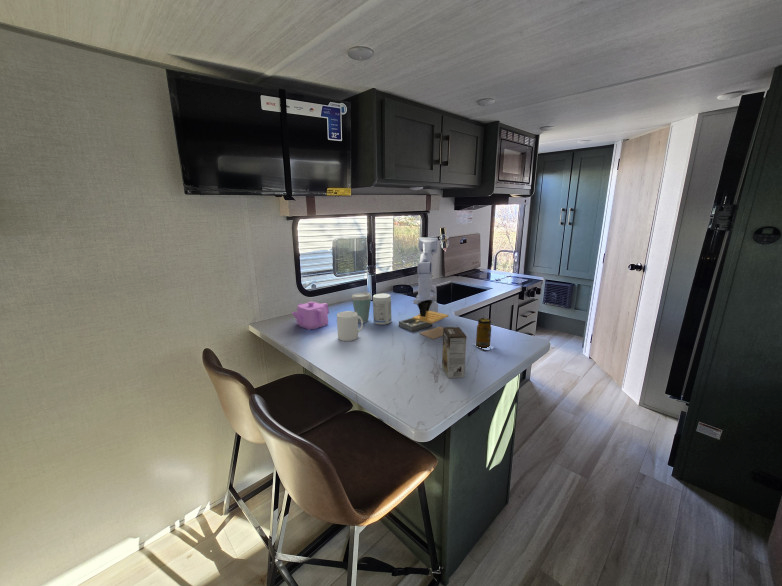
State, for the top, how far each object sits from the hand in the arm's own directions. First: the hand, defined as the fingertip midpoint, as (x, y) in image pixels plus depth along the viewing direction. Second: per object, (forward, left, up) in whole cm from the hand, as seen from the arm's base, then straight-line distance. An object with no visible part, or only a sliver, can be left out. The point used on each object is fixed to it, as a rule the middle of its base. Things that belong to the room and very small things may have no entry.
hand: (424, 315), depth 155 cm
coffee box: (+17, +33, -10) cm, 38 cm away
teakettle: (+36, -48, -10) cm, 61 cm away
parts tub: (-5, -12, -10) cm, 16 cm away
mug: (+29, -20, -10) cm, 36 cm away
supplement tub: (+5, -27, -10) cm, 29 cm away
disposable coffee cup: (+12, -36, -10) cm, 39 cm away
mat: (-6, +2, -10) cm, 12 cm away
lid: (-6, -1, -3) cm, 7 cm away
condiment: (-11, +26, -10) cm, 30 cm away
